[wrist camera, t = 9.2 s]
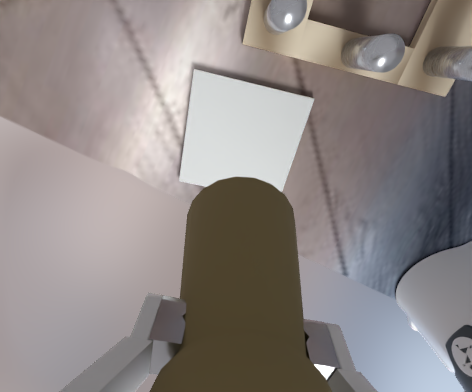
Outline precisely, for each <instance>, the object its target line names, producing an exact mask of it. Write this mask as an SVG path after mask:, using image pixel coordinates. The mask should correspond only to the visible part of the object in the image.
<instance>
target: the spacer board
mask: <svg viewBox="0 0 472 392" xmlns="http://www.w3.org/2000/svg"><path fill="white" fill-rule="evenodd" d="M270 2H271V0H251V5H250V10H249V15H248V19H247V24H246V29H245V34H244V39H243V45H247V46H251V47H255V48H258V49H262V50H266V51H270V52H274V53H278V54H282V55H285V56H289V57H293V58H297V59H301V60H305V61H308V62H312V63H316V64H320V65H324V66H328V67H332V68H335V69H339V70H343V71H347V72H351V73H355V74H359V75H362V76H366V77H370V78H374V79H378V80H382V81H385V82H389V83H393V84H397V85H401V86H405V87H409V88H412V89H416V90H420V91H424V92H428V93H432V94H435V95H439V96H444V97H446V95H447V93H448V92H449V90H450V88H451V86H452V85H453V83H454V81H455V79H448V78H441V77H433V76H428V75H426V74H425V73H424V71H423V62H424V59H425V57H426V56H427V54H428V53H429V52H430V51H432V50H433V49H435V48H437V47H446V46H472V0H431V2H430V4H429V6H428V8H427V10H426V13H425V15H424V17H423V19H422V21H421V23H420V25H419V27H418V29H417V32H416V34H415V36H414V38H413V40H412V42H411V44H410V46H409V47H406V46H405V53H404V56H403V58H402V60H401V62H400V63H399V64H398V65H397V66H396V67H395V68H394V69H393V70H391V71H388V72H384V73H380V72H374V71H367V70H360V69H353V68H348V67H346V66H345V65H344V64H343V63H342V60H341V52H342V49H343V47H344V46H345V44H346V43H347V42H348V41H350V40H351V39H354V38H360V37H368V36H366V35H363V34H359V33H355V32H352V31H348V30H345V29H341V28H337V27H334V26H330V25H326V24H323V23H319V22H315V21H312V20H308V16H309V13H310V9H311V6H312V2H313V0H307V11H306V14H305V17H304V19H303V21H302V22H301V23H300V24H299V25H298V26H297V27H295V28H293V29H291V30H289V31H287V32H285V33H282V34H280V35H273V34H271V33H270V32H268V31H267V29H266V28H265V25H264V13H265V11H266V9H267V7H268V5H269V4H270Z"/></svg>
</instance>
